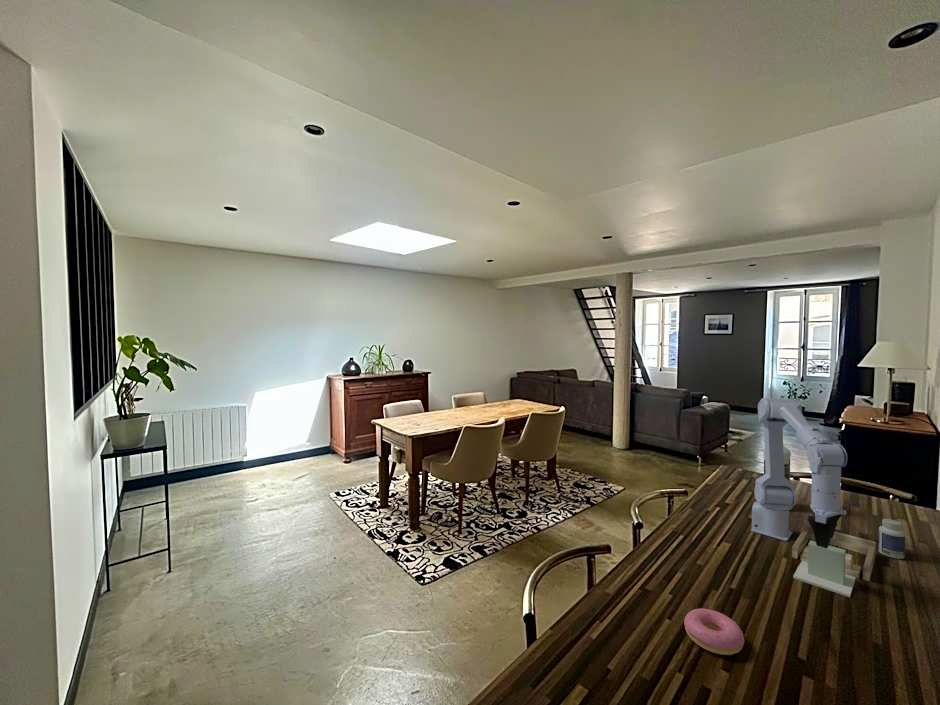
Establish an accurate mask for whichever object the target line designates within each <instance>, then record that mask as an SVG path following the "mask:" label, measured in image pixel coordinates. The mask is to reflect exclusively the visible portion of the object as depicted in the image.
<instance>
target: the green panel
mask: <svg viewBox="0 0 940 705" xmlns="http://www.w3.org/2000/svg"><path fill="white" fill-rule="evenodd" d="M807 546H808V574H810V575H813V576H816V577H819V578H822V579H825V580H828V581H831V582H834V583H837V584H840V585H844V582H845V554H846V552H847V551H846V550H847V549H844V548H840V547H836V546H833V545H829V546H828V548H827V549H826V548H823V547H819V546H817V544H816V541H815V540H811V539H809V542H808V545H807Z"/></svg>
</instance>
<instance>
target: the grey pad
mask: <svg viewBox="0 0 940 705" xmlns="http://www.w3.org/2000/svg"><path fill="white" fill-rule="evenodd" d="M800 561H801V562H800V563H799V564H798V567H797V569H796V570H795V572H794V574H793V575H792V576H793V577H792V578H793V579H795V580H798V581H800V582H803V583H805V584H809V585H812V586H815V587H818V588H821V589H824V590H827V591H830V592H834V593H835V594H839V595H842V596H844V597H847V598H851V596H852V593H853V590H854V586H855V583H856V577H853V576H850V575H847V574H845V582H844V585H840V584H837V583H834V582H831V581H828V580H825V579H822V578H819V577H816V576H813V575H810V574H808V562H805V561H802V560H800Z"/></svg>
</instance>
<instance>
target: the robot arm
mask: <svg viewBox="0 0 940 705" xmlns="http://www.w3.org/2000/svg"><path fill="white" fill-rule="evenodd" d="M757 417H758V422H759V423H761V424H763V440H764V441H763V443H764V444H763V446H764V448H765V471H766V474H765V475H764V474H763V475H761V476H760V477H758V478H756V479H755V486H754V497H755V501H754V502H753V504H752V508H751V528H750V531H751V532H754V533H756V534H761V535H764V536H767V537H771V538H773V539H774V538H775V539H778V540H781V541H785V542H787V541H788V540H789V539H790V537H791V536H792V534H793V531H791V530H790V529H789V527H790V525H789V524H790V522H789V520H790V519H789V518H790V510H792V507H795V505H796V504H797V493H796V490H795V486H794V483H793V482H792V481H791V480H790V481H789V480H788V479H787V478H785V473H784V451H783V446H784V432H783V428H784V427H785V426H786V425H787V424H789V425H790V426H791V427H792V428H793V429H794V431H796V432H795V438H796V439H797V440H798V442H799V443H800V444H801V445H802V446H803V448H804V449H805V450H806V457H807V460H808V463H809V464H808V465H809V466H808V468H809V470H810V471H811V491H810V492H811V496H810V497H811V498H810V499H811V501H810V505H809V506H810V507H809V508H811V510H812V511H813V513H814V514H815V515H814V516H812V515H808V516H807V521H808V524H809V525H811V527H812V529H813V532H814V537H815V540H814V541H815V542H816V544H817V546H819V547H823V548H826V549H827V548H828V546H830V545H829V543H830V538H831V539H832V538H833V535H834V532H836V528H837V526H838V522H839V520H840V519H841V517H842V516H846V515H847V510H846V509H842V508H841V496H842V495H841V491H842V490H841V487H842V484H841V483H842V481H841V480H842V468H845V467H846V466H847V463H848V453H847V451H846V449H845V448H844V446H843V445H842V444H839V443H835V442H832V441H831V440H830V439H829V438H828V437H827V436H826V434H825V433H824V432H823V431H822V430H821V429H820V428H819V427H817V426H816V425H812V424H810V422H808V420H807V418H806V417H805V416H804V415H803V407H802V403H801V402H800V401H799V400H798V399H797V398H766V397H762V398H761V399H760V401H758V404H757ZM776 485H778V486H776Z"/></svg>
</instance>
